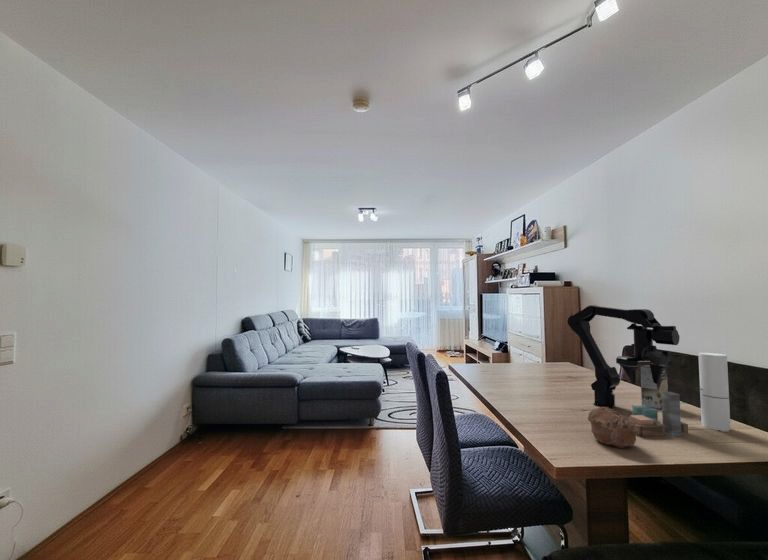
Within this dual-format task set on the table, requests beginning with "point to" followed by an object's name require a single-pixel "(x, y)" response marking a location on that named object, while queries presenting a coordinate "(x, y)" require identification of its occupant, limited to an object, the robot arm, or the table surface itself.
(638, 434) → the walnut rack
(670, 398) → the grey teal angled piece
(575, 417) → the table surface
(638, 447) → the table surface
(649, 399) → the coffee box
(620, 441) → the decorative rock
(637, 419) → the block
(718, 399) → the cylindrical container
